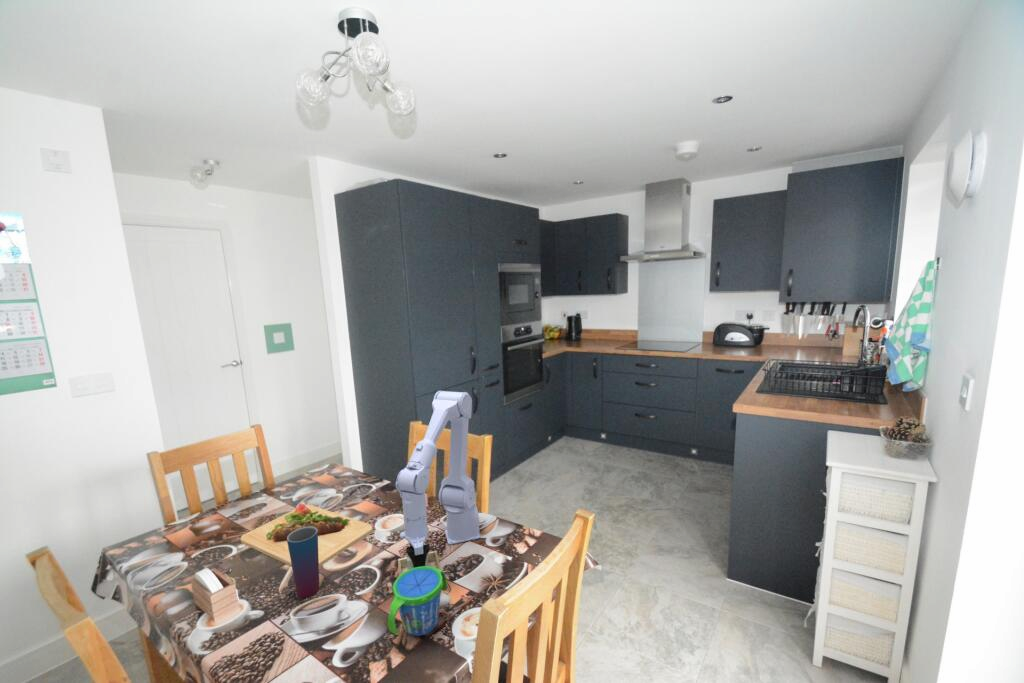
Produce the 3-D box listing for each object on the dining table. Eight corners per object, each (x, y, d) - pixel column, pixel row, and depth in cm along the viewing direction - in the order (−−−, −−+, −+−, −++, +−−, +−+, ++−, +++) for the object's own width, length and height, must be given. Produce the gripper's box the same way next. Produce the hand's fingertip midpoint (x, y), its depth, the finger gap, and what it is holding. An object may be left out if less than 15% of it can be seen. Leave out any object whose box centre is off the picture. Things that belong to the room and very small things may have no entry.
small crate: (427, 563, 109) (426, 545, 109) (429, 575, 104) (427, 556, 104) (408, 567, 108) (406, 549, 107) (408, 579, 103) (407, 560, 103)
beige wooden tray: (437, 560, 113) (436, 550, 112) (442, 585, 103) (441, 574, 103) (398, 569, 110) (397, 559, 110) (400, 595, 100) (399, 584, 100)
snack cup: (405, 662, 82) (401, 614, 81) (376, 635, 88) (372, 591, 87) (463, 613, 93) (461, 571, 92) (433, 593, 100) (431, 554, 99)
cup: (311, 601, 99) (304, 543, 98) (286, 598, 101) (280, 541, 99) (329, 582, 106) (323, 527, 104) (305, 580, 107) (300, 525, 106)
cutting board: (237, 543, 127) (234, 520, 126) (307, 508, 147) (305, 487, 147) (308, 576, 110) (305, 549, 109) (376, 531, 130) (374, 508, 129)
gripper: (397, 504, 110) (401, 552, 112) (399, 533, 97) (404, 587, 98) (424, 499, 112) (428, 546, 114) (430, 527, 99) (434, 580, 100)
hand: (418, 564), depth 106 cm, fingers closed on small crate, 5 cm apart
